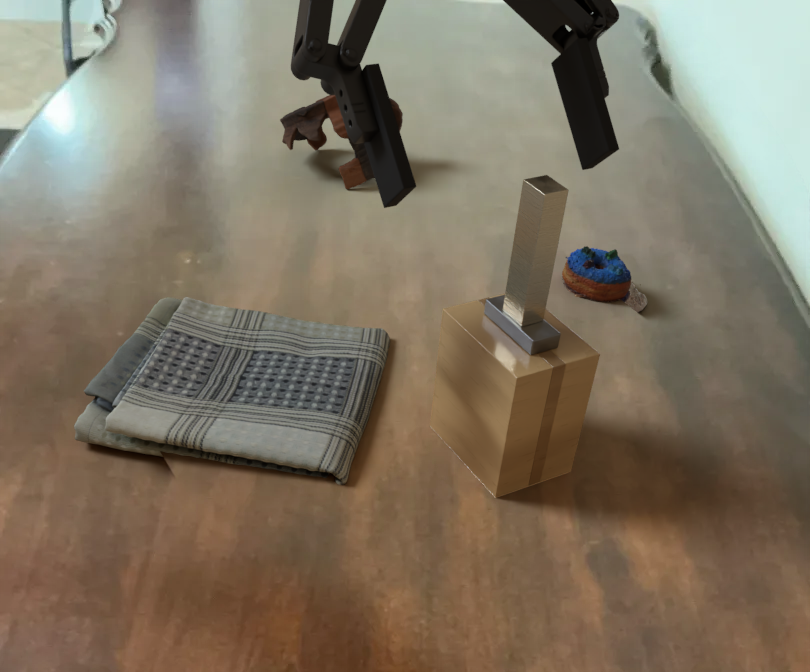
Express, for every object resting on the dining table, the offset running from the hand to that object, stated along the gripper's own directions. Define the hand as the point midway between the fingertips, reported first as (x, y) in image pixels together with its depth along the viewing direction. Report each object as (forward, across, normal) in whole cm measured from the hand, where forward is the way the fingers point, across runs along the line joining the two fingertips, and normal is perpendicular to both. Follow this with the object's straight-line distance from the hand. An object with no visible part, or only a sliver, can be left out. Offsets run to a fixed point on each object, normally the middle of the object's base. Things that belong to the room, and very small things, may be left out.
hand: (505, 178), depth 54 cm
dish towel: (+6, +12, -20) cm, 24 cm away
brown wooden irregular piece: (-16, -12, -42) cm, 46 cm away
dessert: (+5, -20, -20) cm, 29 cm away
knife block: (+15, 0, -10) cm, 18 cm away
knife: (+14, 0, -10) cm, 17 cm away
